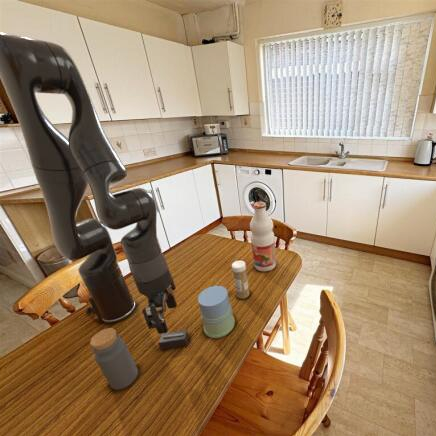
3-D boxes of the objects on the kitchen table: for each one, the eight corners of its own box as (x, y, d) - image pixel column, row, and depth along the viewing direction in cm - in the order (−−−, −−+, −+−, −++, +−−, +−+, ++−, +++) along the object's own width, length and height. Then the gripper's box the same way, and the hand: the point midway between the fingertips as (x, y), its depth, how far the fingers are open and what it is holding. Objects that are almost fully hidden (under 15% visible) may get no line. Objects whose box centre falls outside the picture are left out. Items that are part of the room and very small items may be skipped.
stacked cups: (201, 340, 69) (192, 309, 64) (206, 315, 77) (199, 286, 72) (233, 335, 70) (227, 304, 65) (235, 311, 78) (230, 282, 73)
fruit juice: (281, 265, 100) (277, 203, 88) (263, 275, 95) (256, 210, 83) (267, 256, 107) (262, 197, 95) (249, 265, 101) (241, 204, 89)
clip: (160, 349, 67) (157, 342, 65) (164, 340, 69) (161, 332, 68) (186, 345, 67) (184, 337, 66) (189, 336, 70) (186, 328, 69)
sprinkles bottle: (251, 295, 85) (247, 264, 79) (239, 301, 82) (234, 269, 77) (246, 288, 88) (242, 258, 82) (234, 293, 86) (229, 262, 80)
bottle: (133, 362, 64) (113, 321, 57) (142, 375, 60) (122, 334, 54) (107, 379, 60) (83, 338, 53) (115, 395, 56) (90, 353, 50)
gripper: (145, 256, 64) (162, 302, 70) (120, 293, 51) (143, 344, 58) (174, 252, 65) (188, 298, 71) (157, 287, 52) (175, 339, 59)
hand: (168, 319), depth 64 cm, fingers open, 8 cm apart
